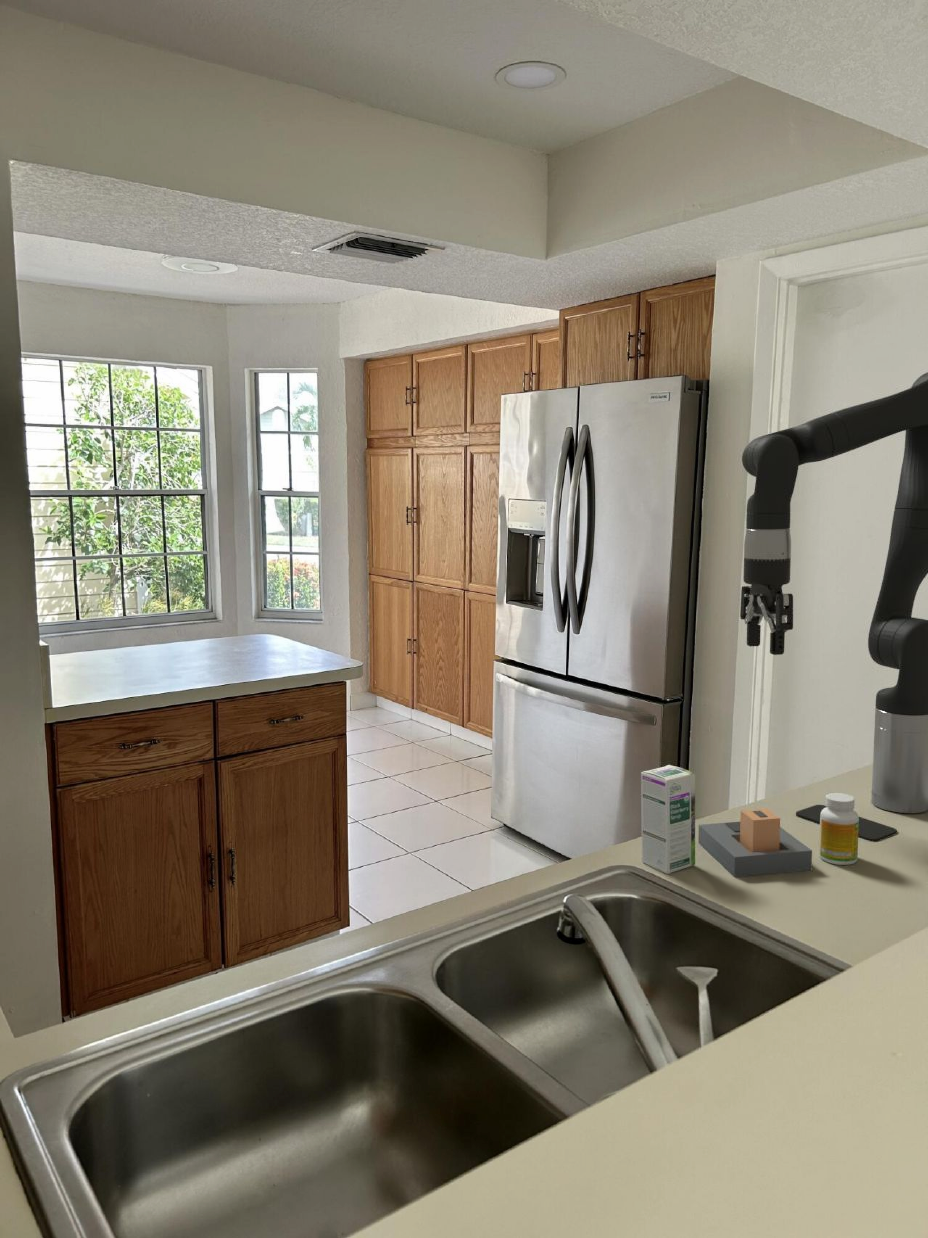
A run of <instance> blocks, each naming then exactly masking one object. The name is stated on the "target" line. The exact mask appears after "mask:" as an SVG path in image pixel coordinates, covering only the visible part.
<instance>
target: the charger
mask: <svg viewBox="0 0 928 1238" xmlns="http://www.w3.org/2000/svg"><path fill="white" fill-rule="evenodd" d="M739 822H740V844H741V845H743V846H744V847H745V848H746V849H747V850H748V851H750V852H751V853H755V852H766V851H778V850H779V843H780V827H781V817H779V816H778V815H776V814H775V813H774V812H772V811H771V810H769V809H768V808H755V809H743V810H740V821H739Z"/></svg>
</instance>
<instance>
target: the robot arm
mask: <svg viewBox="0 0 928 1238" xmlns="http://www.w3.org/2000/svg"><path fill="white" fill-rule="evenodd" d="M904 431H905V439H904V448H903V449H904V450H903V457H902V464H901V469H900V475H899V481H898V489H897V496H896V500H895V504H894V510H893V515H892V522H891V529H890V537H889V544H888V551H887V555H886V562H885V566H884V570H883V576H882V581H881V585H880V590H879V594H878V597H877V601H876V603H875V608H874V611H873V615H872V618H871V619H872V620H871V622H870V627H869V632H868V637H867V638H868V639H867V648H868V652H869V655H870V658H871V659H872V660H873V662H874V663H876V664H877V665H879V666H881V667H886V668H890V669H891V668H892V669H895V670H898V678H897V682H896V685H894V686H889V687H885V688H882V689H880V690H878V691H877V692H876V695H875V696H876V697H875V713H874V731H873V732H874V734H873V735H874V737H873V756H872V774H871V775H872V779H871V780H872V781H871V799H870V800H871V803H872V804H873V805H874V806H875V807H878V808H879V809H881V810H882V809H883V810H886V811H889V812H895V813H902V814H919V813H925V812H927V811H928V619H924V618H919V617H912V615H913V609H914V604H915V600H916V596H917V594H918V593H917V592H918V590H919V588H920V586H921V584H922V582H923V581H924V579H925V578H926V577H927V575H928V372H925V373H923V374H922V375H920V376H919V377H918V378H916V380H915V381H914V382H913V383H912V385H911V386H910V387H909V388H907V389H905V390H902V391H900V392H897V393H893V394H891V395H888V396H884V397H882V398H879V399H873V400H870V401H868V402H864V403H860V404H856V405H854V406H849V407H846V408H842V409H839V410H836V411H834V412H833V411H832V412H830V413H827V414H825V415H822V416H818V417H817V418H814V419H811V420H808V421H807V422H804V423H802V424H799V425H797V426H794V427H788V428H786V429H782V430H779V431H774V432H771V433H768V434H764V435H761V436H758V437H756V438H754V439H752V440H751V441H749V442H748V444H747V445H746V446H745V448H744V450H743V451H742V455H741V462H742V466H743V468H744V470H745V471H746V472H747V473H748V474H749V475H751V476H752V477H755V483H754V492H753V493H752V495H751V496H750V497H748V499H747V502H746V517H745V519H746V527H745V536H744V544H743V582H744V583H745V584H747V585H746V586H745V585H744V586H742V587H741V591H740V592H741V593H740V594H741V595H740V611H739V612H740V613H739V614H740V615H739V617H740V619H741V620H744V623H745V625H746V645H747V646H748V647H760V646H761V631H762V630H761V628H762V625H761V622H762V620H764V621H765V622H766V623H768V626H769V629H770V633H769V653H770V654H771V655H774V656H779V655H780V656H781V655H783V654H784V653H785V638H786V637H785V636H786V635H785V633H787V632H788V631H791V630H793V629H794V595H793V593H784V592H783V586H784V585H787V584H789V583H790V582H791V565H792V564H791V561H792V560H791V558H792V555H791V554H792V537H791V503H792V502H791V501H792V498H793V494H794V491H795V487H796V483H797V477H798V473H799V466H801V465H804V464H809V463H817V462H822V461H825V460H828V459H831V458H832V459H833V458H834V457H837V456H840V455H843V454H845V453H849V452H851V451H854V450H857V449H860V448H862V447H864V446H867V445H870V444H872V443H874V442H876V441H877V442H878V441H880V440H882V439H884V438H887V437H889V436H893V435H895V434H898V433H900V432H901V433H902V432H904ZM763 618H764V619H763Z"/></svg>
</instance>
